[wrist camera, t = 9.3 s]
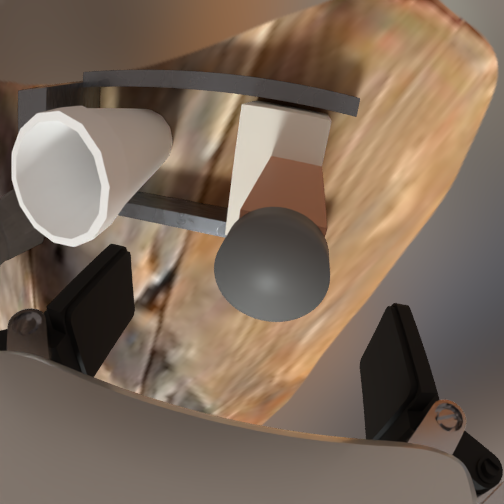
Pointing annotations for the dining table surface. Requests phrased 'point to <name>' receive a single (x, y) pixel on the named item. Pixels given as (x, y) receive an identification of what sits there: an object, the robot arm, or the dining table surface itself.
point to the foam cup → (85, 167)
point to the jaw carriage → (276, 214)
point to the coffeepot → (15, 229)
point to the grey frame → (89, 89)
